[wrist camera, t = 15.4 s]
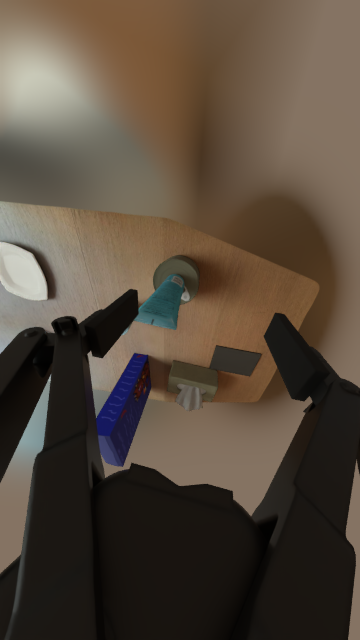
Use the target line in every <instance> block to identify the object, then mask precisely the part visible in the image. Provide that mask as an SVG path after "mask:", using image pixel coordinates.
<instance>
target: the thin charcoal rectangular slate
mask: <svg viewBox="0 0 360 640" xmlns="http://www.w3.org/2000/svg"><path fill="white" fill-rule="evenodd" d="M260 356H261V354H259V353H254V352H249V351H243V350H238V349H233V348H227V347H222V346H217V345H216V348H215V351H214V355H213V358H212V361H211V364H210V369H215V370H220V371H225V372H230V373H235V374H240V375H245V376H250V375H251V373H252V371H253V369H254V368H255V366H256V364H257V362H258V360H259V358H260Z"/></svg>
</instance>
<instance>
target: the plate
mask: <svg viewBox="0 0 360 640" xmlns="http://www.w3.org/2000/svg"><path fill="white" fill-rule="evenodd" d="M0 281H1V283H2V284H3V286H4V287H5V288H6V290H7V291H9V292H11V293H13V294H15V295H18V296H20V297H23V298H26V299H29V300H48V287H47V282H46V278H45V276H44V273H43V271H42V269H41V267H40V266H39V264H38V262H37V260H36V258H35V257H34V255H33V254H32V253H30V252H28V251H27V250H24V249H22V248H20V247H18V246H15V245H13V244H10V243H6V242H0Z"/></svg>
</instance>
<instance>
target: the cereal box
mask: <svg viewBox="0 0 360 640" xmlns="http://www.w3.org/2000/svg"><path fill="white" fill-rule="evenodd" d="M150 390H151V380H150V371H149V361H148V355H143V354H136V353H134V355H133V356H132V358H131V360H130V361H129V363H128V365H127V367H126V368H125V370H124V372H123V373H122V375H121V377H120V379H119V380H118V382H117V384H116V385H115V387H114V389H113V390H112V392H111V394H110V396H109V397H108V399H107V401H106V402H105V404H104V406H103V408H102V409H101V411H100V413H99V415H98V416H97V418H96V423H97V431H98V439H99V447H100V453H101V455H102V456H103V458H104V460H105V462H106V463H108V464H111V465H114V466H122V467H123V465H124V462H125V460H126V457H127V454H128V451H129V448H130V446H131V443H132V440H133V437H134V435H135V432H136V429H137V426H138V423H139V421H140V418H141V415H142V412H143V409H144V407H145V404H146V401H147V398H148V396H149V393H150Z"/></svg>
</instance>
